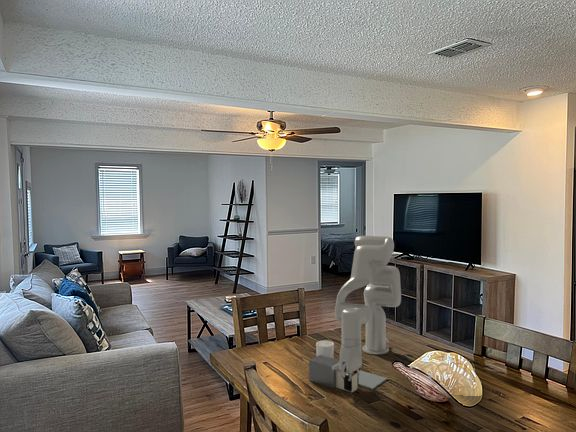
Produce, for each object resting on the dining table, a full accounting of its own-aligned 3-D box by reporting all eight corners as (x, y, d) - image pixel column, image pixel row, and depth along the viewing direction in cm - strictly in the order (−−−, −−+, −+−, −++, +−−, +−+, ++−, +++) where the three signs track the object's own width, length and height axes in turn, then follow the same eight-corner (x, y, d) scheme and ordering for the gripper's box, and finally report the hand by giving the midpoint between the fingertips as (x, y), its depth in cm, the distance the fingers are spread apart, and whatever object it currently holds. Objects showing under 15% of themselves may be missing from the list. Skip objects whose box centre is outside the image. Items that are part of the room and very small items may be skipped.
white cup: (333, 369, 188) (333, 347, 188) (314, 368, 190) (314, 345, 189) (334, 363, 196) (334, 341, 195) (317, 361, 197) (317, 340, 197)
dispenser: (320, 374, 183) (320, 354, 183) (344, 382, 175) (344, 361, 175) (309, 380, 177) (309, 359, 177) (333, 388, 170) (333, 367, 169)
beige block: (331, 380, 177) (331, 366, 177) (357, 388, 170) (357, 373, 169) (326, 384, 174) (325, 369, 174) (351, 392, 166) (351, 376, 166)
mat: (357, 370, 187) (357, 369, 187) (387, 379, 178) (387, 378, 178) (341, 380, 178) (341, 378, 178) (372, 389, 169) (372, 388, 169)
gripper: (354, 333, 177) (354, 378, 178) (330, 344, 164) (331, 392, 165) (370, 337, 172) (370, 383, 173) (347, 349, 159) (348, 398, 160)
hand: (351, 387), depth 169 cm, fingers closed on beige block, 4 cm apart
